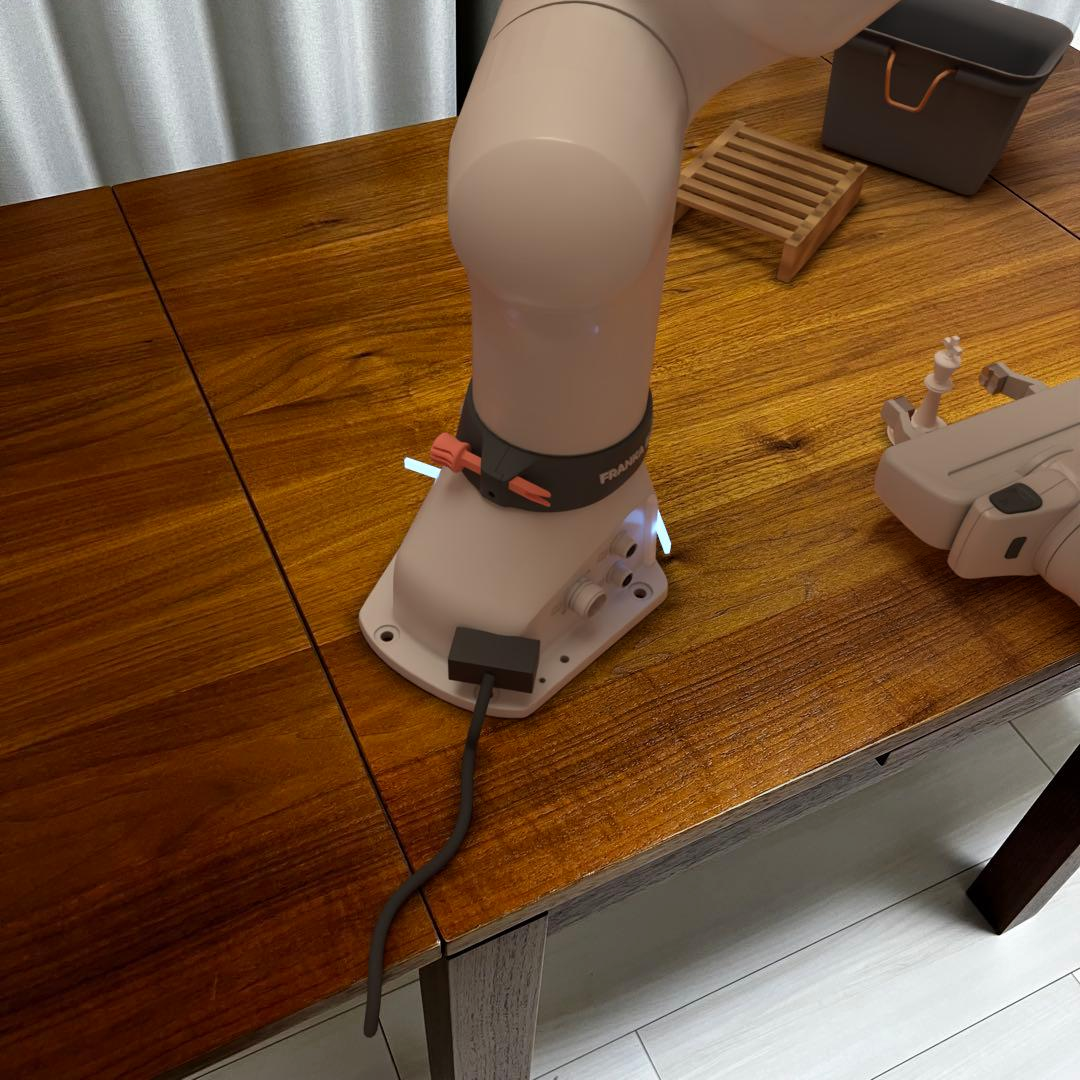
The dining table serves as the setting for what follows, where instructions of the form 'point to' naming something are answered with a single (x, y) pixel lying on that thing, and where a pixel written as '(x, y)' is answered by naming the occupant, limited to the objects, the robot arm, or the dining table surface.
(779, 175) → the rack
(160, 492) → the dining table surface
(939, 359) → the chess piece
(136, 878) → the dining table surface
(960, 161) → the storage bin
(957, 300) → the dining table surface
